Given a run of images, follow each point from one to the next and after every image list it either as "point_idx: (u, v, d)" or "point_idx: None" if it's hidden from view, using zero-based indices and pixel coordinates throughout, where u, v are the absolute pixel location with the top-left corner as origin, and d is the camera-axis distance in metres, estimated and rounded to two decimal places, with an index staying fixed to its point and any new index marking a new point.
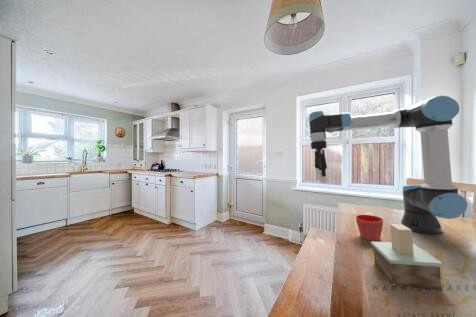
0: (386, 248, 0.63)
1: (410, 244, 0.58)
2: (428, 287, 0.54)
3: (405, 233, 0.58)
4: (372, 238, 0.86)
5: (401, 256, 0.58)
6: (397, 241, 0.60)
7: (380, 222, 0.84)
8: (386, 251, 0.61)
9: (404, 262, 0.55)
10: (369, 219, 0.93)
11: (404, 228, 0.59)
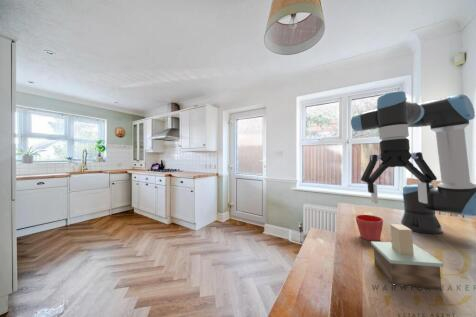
0: (386, 248, 0.63)
1: (410, 244, 0.58)
2: (428, 287, 0.54)
3: (405, 233, 0.58)
4: (372, 238, 0.86)
5: (401, 256, 0.58)
6: (397, 241, 0.60)
7: (380, 222, 0.84)
8: (386, 251, 0.61)
9: (404, 262, 0.55)
10: (369, 219, 0.93)
11: (404, 228, 0.59)
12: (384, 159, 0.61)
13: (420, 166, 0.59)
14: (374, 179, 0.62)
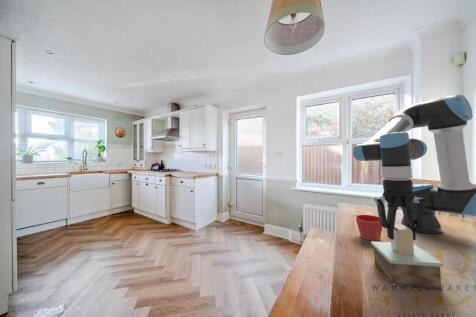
0: (386, 248, 0.63)
1: (410, 244, 0.58)
2: (428, 287, 0.54)
3: (405, 233, 0.58)
4: (372, 238, 0.86)
5: (401, 256, 0.58)
6: None
7: None
8: (386, 251, 0.61)
9: (404, 262, 0.55)
10: (369, 219, 0.93)
11: (404, 228, 0.59)
12: (389, 199, 0.61)
13: (415, 211, 0.60)
14: (392, 225, 0.60)
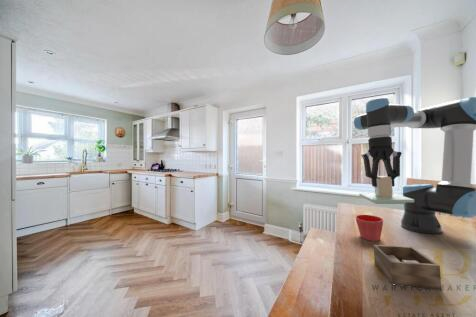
0: (371, 195, 0.76)
1: (389, 188, 0.71)
2: (428, 287, 0.54)
3: (385, 180, 0.72)
4: (372, 238, 0.86)
5: (382, 198, 0.71)
6: None
7: (380, 222, 0.84)
8: (370, 196, 0.74)
9: (384, 201, 0.68)
10: (369, 219, 0.93)
11: (385, 176, 0.73)
12: (373, 154, 0.74)
13: (394, 163, 0.73)
14: (375, 174, 0.74)
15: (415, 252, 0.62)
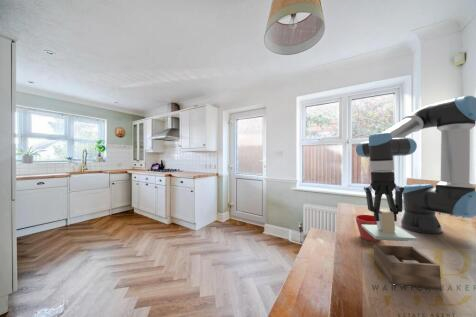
0: (373, 229, 0.76)
1: (392, 224, 0.71)
2: (428, 287, 0.54)
3: (387, 215, 0.71)
4: (372, 238, 0.86)
5: (384, 233, 0.71)
6: None
7: None
8: (373, 230, 0.74)
9: (386, 238, 0.68)
10: (369, 219, 0.93)
11: (387, 211, 0.72)
12: (375, 188, 0.74)
13: (397, 197, 0.73)
14: (378, 209, 0.73)
15: (415, 252, 0.62)
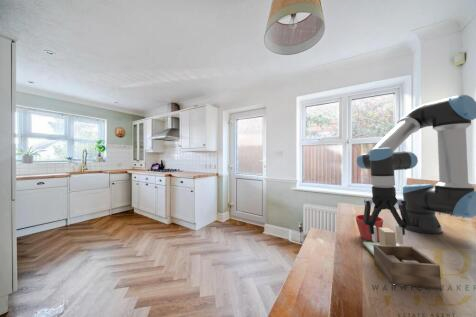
0: None
1: (394, 244, 0.71)
2: (428, 287, 0.54)
3: (389, 235, 0.71)
4: None
5: None
6: (383, 242, 0.73)
7: (380, 222, 0.84)
8: None
9: None
10: None
11: (389, 231, 0.72)
12: (376, 203, 0.74)
13: (401, 211, 0.72)
14: (373, 222, 0.74)
15: (415, 252, 0.62)
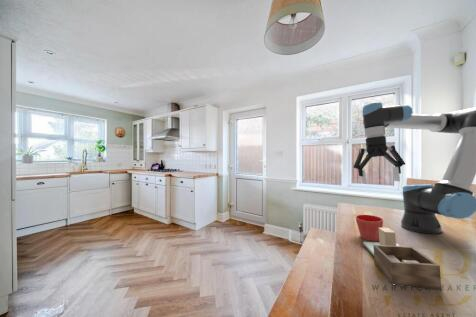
0: None
1: (394, 244, 0.71)
2: (428, 287, 0.54)
3: (389, 235, 0.71)
4: (372, 238, 0.86)
5: None
6: (383, 242, 0.73)
7: (380, 222, 0.84)
8: None
9: None
10: (369, 219, 0.93)
11: (389, 231, 0.72)
12: (369, 151, 0.85)
13: (394, 155, 0.83)
14: (363, 166, 0.85)
15: (415, 252, 0.62)
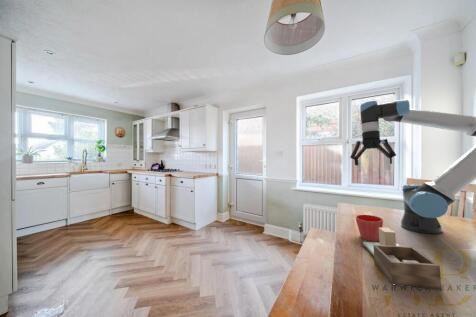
0: None
1: (394, 244, 0.71)
2: (428, 287, 0.54)
3: (389, 235, 0.71)
4: (372, 238, 0.86)
5: None
6: (383, 242, 0.73)
7: (380, 222, 0.84)
8: None
9: None
10: (369, 219, 0.93)
11: (389, 231, 0.72)
12: (364, 143, 0.97)
13: (387, 147, 0.95)
14: (358, 156, 0.97)
15: (415, 252, 0.62)
